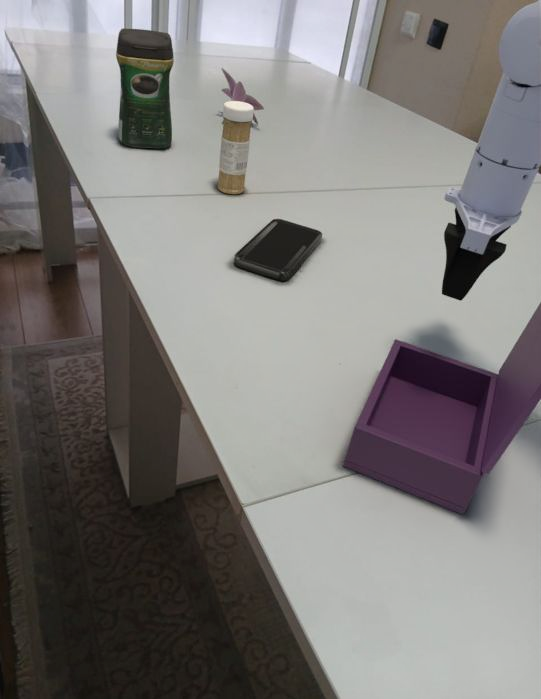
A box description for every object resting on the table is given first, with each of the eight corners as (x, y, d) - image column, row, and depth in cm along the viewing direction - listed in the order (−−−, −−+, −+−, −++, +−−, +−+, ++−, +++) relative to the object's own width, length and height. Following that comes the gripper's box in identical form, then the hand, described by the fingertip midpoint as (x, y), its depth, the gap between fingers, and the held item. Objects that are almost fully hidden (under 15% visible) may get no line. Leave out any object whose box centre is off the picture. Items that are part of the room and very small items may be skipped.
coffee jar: (170, 137, 114) (174, 29, 102) (172, 152, 107) (176, 38, 96) (118, 133, 111) (116, 22, 100) (117, 148, 105) (114, 31, 94)
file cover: (555, 362, 39) (564, 365, 39) (559, 271, 50) (566, 274, 50) (480, 471, 46) (488, 475, 46) (498, 370, 57) (504, 373, 57)
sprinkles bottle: (237, 183, 100) (246, 99, 92) (249, 194, 97) (259, 109, 89) (212, 185, 98) (219, 99, 90) (223, 196, 95) (231, 109, 87)
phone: (231, 257, 77) (275, 217, 88) (230, 265, 77) (274, 224, 89) (288, 275, 75) (325, 232, 86) (287, 283, 75) (323, 239, 87)
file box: (342, 466, 52) (354, 426, 49) (383, 375, 63) (395, 338, 60) (462, 515, 49) (483, 476, 46) (483, 411, 60) (500, 374, 58)
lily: (260, 140, 123) (280, 95, 121) (209, 112, 118) (229, 65, 116) (243, 139, 133) (261, 97, 131) (196, 113, 128) (214, 70, 126)
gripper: (474, 125, 59) (431, 245, 68) (450, 167, 48) (402, 305, 57) (545, 144, 58) (492, 265, 66) (538, 193, 47) (475, 331, 55)
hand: (455, 285), depth 61 cm, fingers open, 4 cm apart
